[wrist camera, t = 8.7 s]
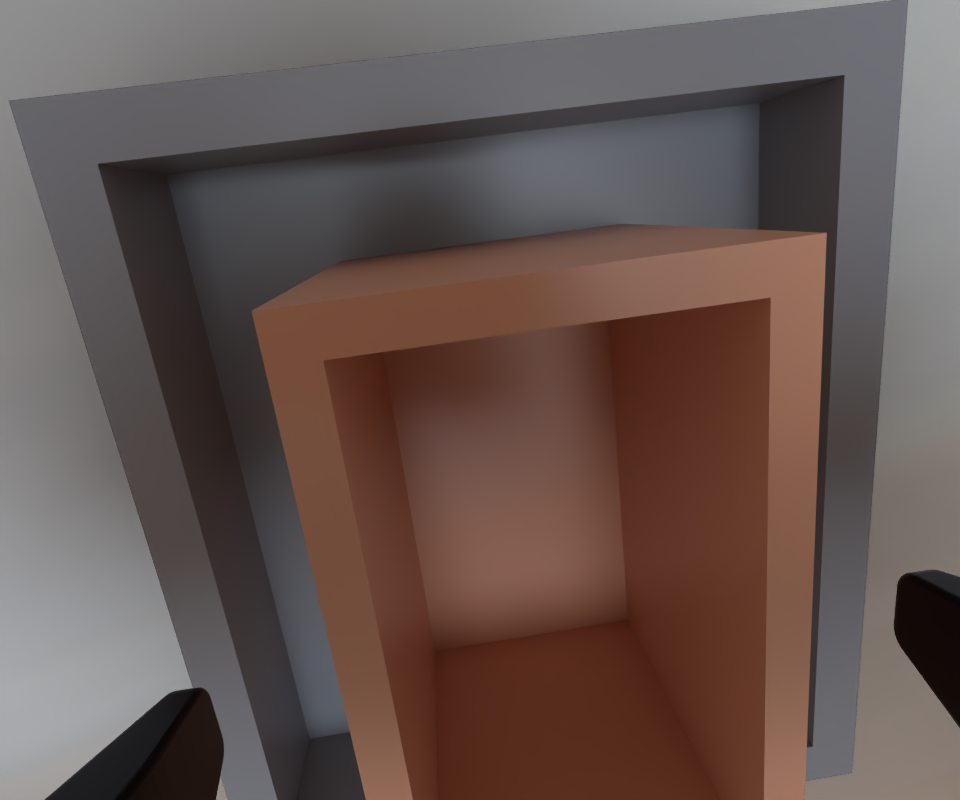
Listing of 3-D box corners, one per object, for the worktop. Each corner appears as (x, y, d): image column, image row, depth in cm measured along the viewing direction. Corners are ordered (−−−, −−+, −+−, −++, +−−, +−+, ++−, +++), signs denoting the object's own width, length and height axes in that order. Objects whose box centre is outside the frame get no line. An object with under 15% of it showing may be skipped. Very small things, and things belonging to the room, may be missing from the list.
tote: (622, 223, 13) (827, 233, 7) (644, 620, 16) (800, 907, 9) (340, 261, 13) (250, 311, 6) (414, 658, 16) (408, 982, 9)
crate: (785, 52, 13) (908, -2, 10) (772, 669, 18) (852, 772, 15) (118, 130, 13) (9, 101, 9) (285, 750, 17) (252, 878, 14)
